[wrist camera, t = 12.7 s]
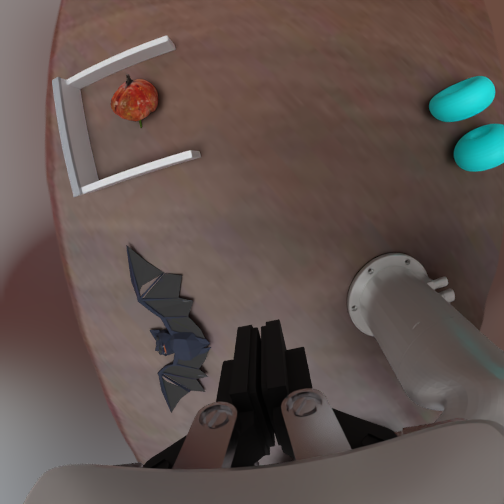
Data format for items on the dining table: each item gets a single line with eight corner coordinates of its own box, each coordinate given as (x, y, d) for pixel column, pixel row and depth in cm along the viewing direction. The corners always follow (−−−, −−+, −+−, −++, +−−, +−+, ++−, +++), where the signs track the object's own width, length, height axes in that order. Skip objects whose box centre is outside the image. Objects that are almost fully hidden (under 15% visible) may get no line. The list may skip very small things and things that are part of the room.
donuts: (457, 80, 31) (500, 68, 22) (487, 141, 33) (532, 143, 24) (412, 107, 33) (453, 96, 23) (446, 172, 35) (491, 179, 26)
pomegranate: (169, 118, 36) (164, 65, 30) (149, 142, 33) (140, 84, 27) (131, 115, 37) (124, 65, 30) (109, 138, 33) (97, 84, 27)
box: (174, 44, 32) (161, 29, 26) (201, 157, 36) (191, 157, 31) (74, 86, 33) (52, 80, 28) (95, 191, 37) (73, 197, 32)
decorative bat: (222, 426, 44) (164, 420, 45) (227, 408, 48) (171, 404, 49) (189, 245, 35) (115, 249, 36) (198, 236, 39) (130, 240, 40)
